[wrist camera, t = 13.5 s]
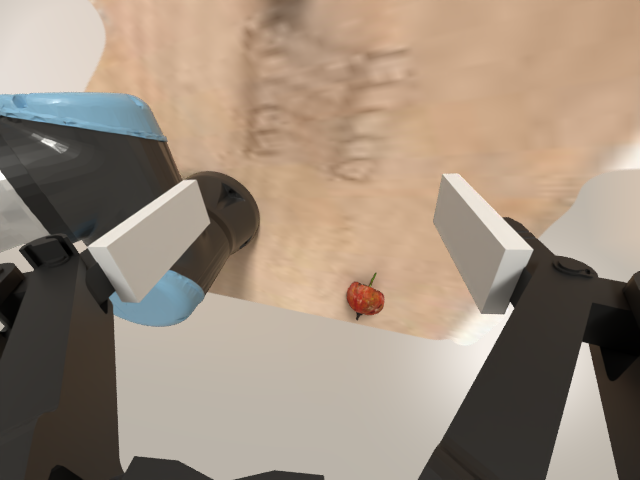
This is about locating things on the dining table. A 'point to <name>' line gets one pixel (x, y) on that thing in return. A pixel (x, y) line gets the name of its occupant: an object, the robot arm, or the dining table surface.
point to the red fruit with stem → (365, 299)
